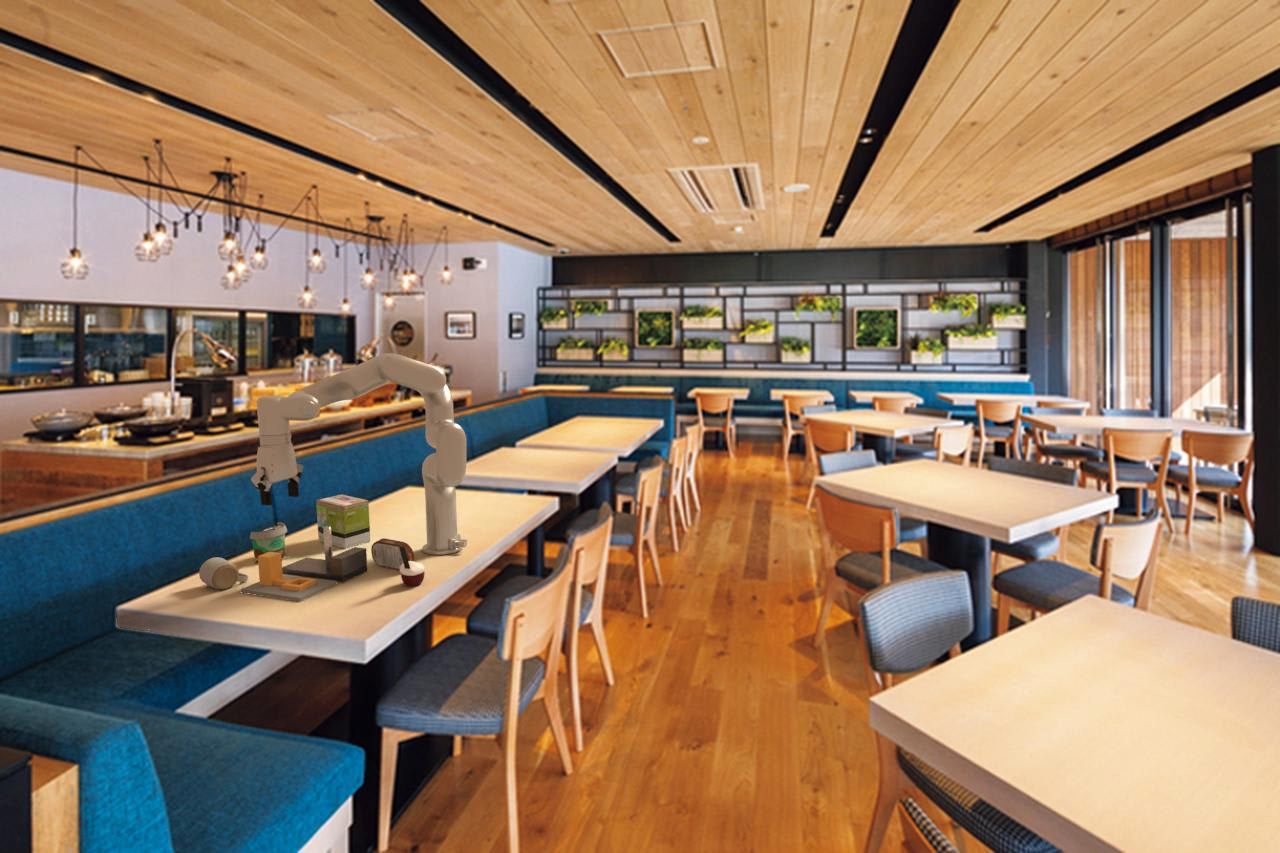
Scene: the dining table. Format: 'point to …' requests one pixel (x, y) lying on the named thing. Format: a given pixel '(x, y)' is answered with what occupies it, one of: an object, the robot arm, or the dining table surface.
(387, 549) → the tin
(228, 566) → the ceramic mug
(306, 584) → the orange block with loop
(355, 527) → the tea box
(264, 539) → the food container
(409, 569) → the cocoa
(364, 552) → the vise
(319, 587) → the rubber mat
